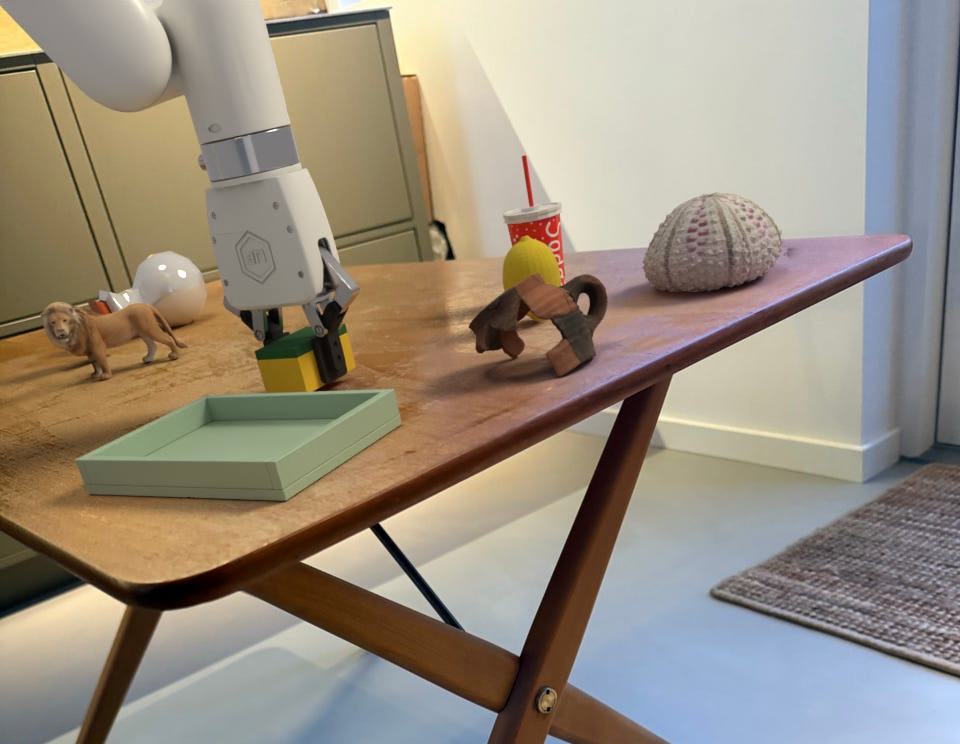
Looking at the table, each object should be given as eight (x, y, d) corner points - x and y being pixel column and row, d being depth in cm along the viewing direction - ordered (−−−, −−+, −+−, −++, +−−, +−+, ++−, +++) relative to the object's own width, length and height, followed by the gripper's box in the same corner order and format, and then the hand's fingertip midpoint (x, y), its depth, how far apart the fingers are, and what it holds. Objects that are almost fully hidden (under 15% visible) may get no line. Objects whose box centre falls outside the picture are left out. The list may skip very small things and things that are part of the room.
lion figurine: (73, 392, 113) (41, 309, 108) (61, 386, 117) (29, 306, 112) (197, 353, 119) (171, 273, 115) (180, 349, 123) (155, 271, 119)
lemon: (536, 313, 104) (523, 230, 100) (577, 314, 100) (566, 227, 96) (498, 329, 101) (484, 244, 97) (539, 330, 97) (526, 242, 93)
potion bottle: (225, 323, 141) (126, 368, 136) (187, 280, 144) (89, 322, 139) (217, 270, 133) (111, 316, 128) (177, 225, 136) (73, 268, 131)
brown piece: (538, 395, 80) (476, 306, 79) (503, 424, 89) (447, 344, 88) (650, 315, 83) (592, 228, 82) (605, 351, 92) (552, 273, 91)
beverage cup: (537, 307, 106) (514, 161, 100) (506, 303, 111) (482, 163, 105) (585, 292, 109) (566, 147, 102) (553, 288, 113) (533, 150, 107)
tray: (88, 494, 78) (74, 459, 77) (215, 426, 89) (205, 395, 87) (286, 501, 68) (274, 461, 67) (402, 424, 79) (394, 388, 77)
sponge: (267, 396, 91) (253, 351, 89) (317, 369, 96) (305, 326, 94) (307, 394, 88) (294, 348, 87) (356, 367, 94) (345, 323, 92)
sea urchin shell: (736, 299, 93) (730, 206, 89) (617, 300, 102) (607, 214, 99) (809, 263, 101) (806, 175, 97) (691, 266, 110) (685, 186, 106)
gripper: (146, 182, 85) (215, 396, 94) (305, 152, 77) (364, 391, 85) (207, 166, 90) (266, 370, 99) (361, 136, 82) (411, 362, 91)
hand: (311, 377), depth 92 cm, fingers closed on sponge, 4 cm apart
